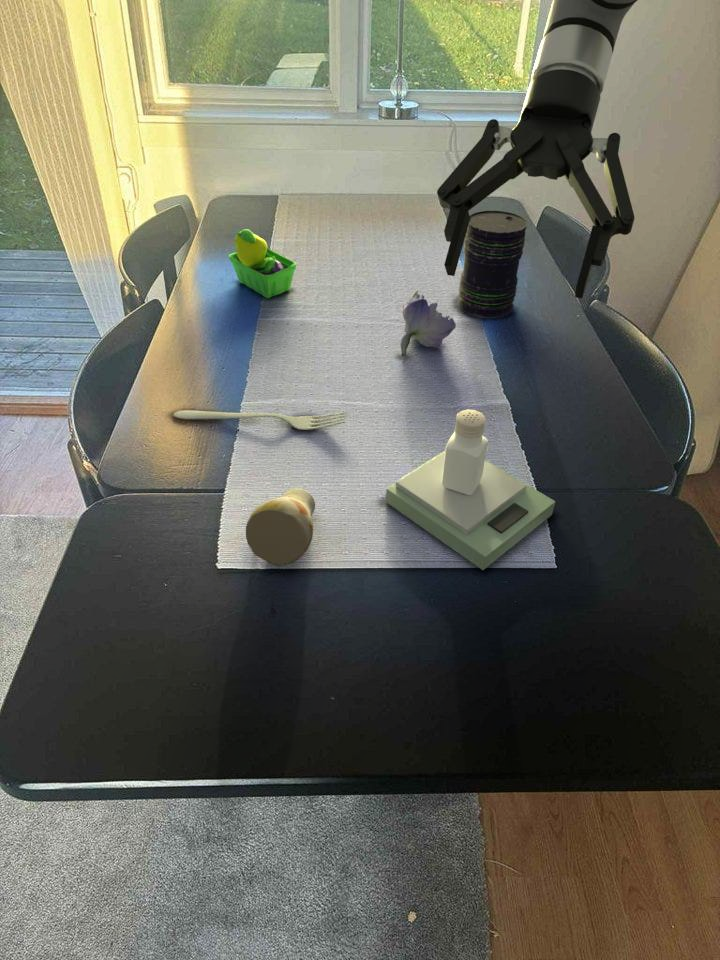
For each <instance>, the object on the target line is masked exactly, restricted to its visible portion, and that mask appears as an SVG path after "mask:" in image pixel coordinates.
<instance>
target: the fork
mask: <svg viewBox="0 0 720 960" xmlns="http://www.w3.org/2000/svg"><path fill="white" fill-rule="evenodd" d="M347 414H348V411H343V412H338V413H329V414H322V415H298V416H289V415H284V414H279V413H270V412H269V413H266V412H263V413H251V412H250V413H249V412H247V413H246V412H225V411H223V412H222V411H207V410H192V409H191V410H190V409H185V410H184V409H183V410H177V411H176V412H174V413H173V417H175V418H176V419H181V420H232V419H233V420H234V419H251V418H252V419H253V418H277V419H280V420H283V421H284V422H287V423H288V424H289V425H290V426H292V427H293V428H295V429H297V430H299V431H300V430H301V431H310V430H318V429H323V428H327V427H328V428H329V427H333V426H337V425H341V424H344V423H346V420H347V418H346V417H347V416H348V415H347Z"/></svg>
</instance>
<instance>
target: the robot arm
mask: <svg viewBox="0 0 720 960" xmlns="http://www.w3.org/2000/svg"><path fill="white" fill-rule="evenodd" d="M637 2H638V0H552V2H551V6H550V10H549V13H548V17H547V21H546V25H545V28H544V32H543V34H542V35H543V36H542V39H541V43H540V45H539V49H538V51H537V56H536V59H535V63H534V66H533V70H532V74H531V78H530V83H529V84H528V85H529V86H528V88H527V92H526V96H525V99H524V102H523V107H522V110H521V113H520V117H519V120H518V123H517V124H516V125H515V126H514V127H513V128H511V127H506V126H502V125H500V123H499V121H498V120H497V119H495V118H492V119H490V120H488V122H487V123H486V126H485V129H484V131H483V134H482V136H481V138H480V139H479V140H478V141H477V143H476V144H475V145H474V146H473V147H472V148H471V150H470V151H469V152H468V153H467V154H466V156H464V157H463V159H462V160H461V161H460V162H459V163H458V165H457V166H456V168H455V169H454V170H453V171H452V172H451V173H450V174H449V175H448V176H447V178H446V179H445V180H444V182H442V184H441V185H440V186H439V187H438V189H437V190H436V194H437V198H438V201H439V205H440V207H441V208H443V209H447V210H449V212H448V216H447V220H446V223H445V226H444V230H443V233H444V238H445V241H446V242H448V243H449V246H448V249H447V253H446V257H445V260H444V264H443V265H444V268H445V269H444V270H445V271H446V275H447V276H451V277H455V275H456V272H457V268H458V265H459V261H460V257H461V253H462V250H463V248H464V244H465V236H466V232H467V229H468V225H469V221H470V213H469V211H470V210H472V209H473V208H474V207H476V206H477V205H479V204H480V203H481V202H482V201H483V200H485V199H486V198H487V197H489V196H490V195H492V194H493V193H494V192H496V191H497V190H499V189H500V188H501V187H502V186H503V185H505V184H506V183H507V182H509V181H511V180H515V179H517V177H519V176H520V175H521V174H523V173H524V174H525V173H526V174H527V177H533V178H537V177H544V178H546V179H548V180H555V181H557V180H558V178H563V177H565V179H566V181H567V183H568V185H569V187H571V188H573V190H574V192H575V194H576V195H577V198H578V199H579V201H580V203H581V204H582V206H583V208H584V209H585V211H586V214H587V215H588V217H589V219H590V220H591V222H592V227H591V230H590V234H589V238H588V241H587V245H586V249H585V253H584V257H583V260H582V264H581V268H580V272H579V275H578V278H577V282H576V285H575V293H574V298H577V299H583V298H584V293H585V290H586V287H587V283H588V279H589V275H590V271H591V268H592V266H594V267H595V266H596V267H602V266H603V264H604V263H605V259H606V256H607V252H608V248H609V245H610V241H611V239H612V237H614V236H616V235H623V236H627V235H629V234H630V233H632V229H633V226H634V221H635V213H634V209H633V205H632V202H631V198H630V194H629V190H628V186H627V183H626V177H625V175H624V171H623V168H622V163H621V159H620V156H619V151H620V143H621V135H620V133H618V132H612V133H610V134H609V135H608V137H607V138H606V137H605V138H604V137H593V134H592V132H593V127H594V123H595V120H596V116H597V114H598V113H597V112H598V110H599V106H600V102H601V95H602V93H603V91H604V86H605V83H606V79H607V76H608V72H609V69H610V64H611V61H612V58H613V53H614V50H615V46H616V42H617V39H618V35H619V31H620V28H621V25H622V22H623V20H624V19H625V17H626V15H627V13H628V12H629V11H630V10H631V8H632V7H633V6H634V4H636V3H637ZM507 143H509V144H510V146H511V149H509V150H508V151H507V152H506V153H505V154H504V155H503V158H501V159H500V160H499V161H497V162H496V163H495V164H494V165H492V166H491V167H490V168H489V169H487V170H486V171H485V172H483V173H482V174H481V175H479V176H478V177H477V178H475V177H476V176H477V175H478V173H479V172H480V171H481V170H482V168H484V167H485V165H486V164H487V163H488V162H489V160H491V158H492V157H493V155H494V153H495V151H500V150H501V148H503V146H504V145H505V144H507ZM591 153H593V154H594V155H596V160H597V161H598V162H599V163H600V164H603V172H604V177H605V180H606V184H607V185H606V186H607V188H608V193H609V196H610V200H611V203H612V204H611V205H612V208H613V212H614V214H613V215H612V213H611V211H610V210H609V207H608V206H607V205H606V203H605V201H604V199H603V198H602V196H601V194H600V192H599V191H598V189H597V187H596V185H595V184H594V182H593V181H592V179H591V177H590V175H589V173H588V172H587V170H586V168H585V164H584V160H585V159H586V158H587V157H588V156H589V155H590V154H591ZM473 179H474V180H473Z"/></svg>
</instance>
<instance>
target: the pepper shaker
mask: <svg viewBox="0 0 720 960" xmlns="http://www.w3.org/2000/svg"><path fill="white" fill-rule="evenodd" d="M485 424H486V416H485V415H484V414H483V412H480V411H479V410H475V409H468V408H467V409H464V410H460V411H459V412H457V414H456V418H455V426H454V432H453V433H452V435H451V436H450V438H449V439H448V441H447V443H446V445H445V450H444V451H445V460H444V468H443V476H442V486H444V487H445V488H448V489H451V490H454V491H457V492H460V493H464V494H467V495H471V494H473V492H474V491H475V489H476V488H477V486H478V484H479V482H480V480H481V479H482V475H483V469H484V463H485V460H486V456H487V451H488V444H489V440H488V438H486V436H484V433H485V431H484V430H485Z"/></svg>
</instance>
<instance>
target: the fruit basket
mask: <svg viewBox="0 0 720 960" xmlns="http://www.w3.org/2000/svg"><path fill="white" fill-rule="evenodd" d="M234 245H235V249H236V252H233V253H230V254H228V258H229V260H230V262H231V263H232V266H233V269H234V271H235V273H236V276H237V279H238V281H239V283H241V284H243V285H245V286H246V287H248V288H249V289H251V290H253V291H254V292H256V293H257V294H260V295H262V296H263V297H265V298H266V299H270V298H271V297H275V296H278V295H281V294H283V293H285V292H289V291H291V286H292V282H293V278H294V274H295V270H296V268H297V265H298V263H296V262H295V261H293V260H291V259H289V258H287V257H286V256H283V255H281V254H280V253H278V252H275V251H273V250H272V249H270V248H268V243H267V242H266V240H265V239H263V238H262V237H260V236H259V235H257V234H254V233H253V231H251V230H250V229H247V228H245V229H242V230H241V231H237V232H236V236H235V238H234Z"/></svg>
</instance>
